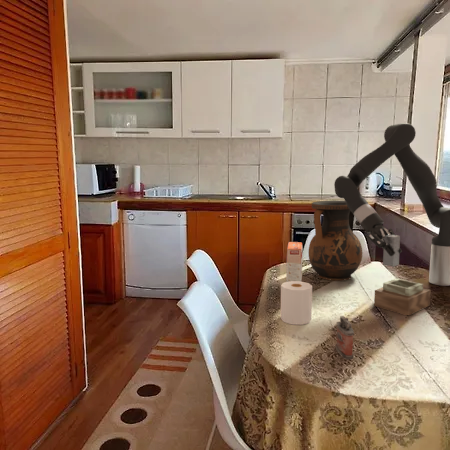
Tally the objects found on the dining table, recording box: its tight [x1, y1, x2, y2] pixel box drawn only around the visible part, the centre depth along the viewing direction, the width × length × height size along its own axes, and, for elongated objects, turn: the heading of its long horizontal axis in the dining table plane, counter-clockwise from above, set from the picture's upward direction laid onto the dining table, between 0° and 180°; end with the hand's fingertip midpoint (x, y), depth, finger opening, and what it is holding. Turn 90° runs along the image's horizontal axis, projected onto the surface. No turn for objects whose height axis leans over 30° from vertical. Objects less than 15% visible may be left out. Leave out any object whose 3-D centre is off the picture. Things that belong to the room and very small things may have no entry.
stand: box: [373, 277, 432, 316], centre depth 149 cm, size 16×13×8 cm
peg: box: [382, 234, 401, 267], centre depth 149 cm, size 4×4×11 cm
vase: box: [307, 199, 363, 282], centre depth 187 cm, size 24×24×35 cm
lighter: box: [335, 315, 355, 360], centre depth 113 cm, size 8×3×10 cm, turn 5°
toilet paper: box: [280, 281, 313, 326], centre depth 137 cm, size 10×10×12 cm
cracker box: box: [285, 241, 303, 282], centre depth 160 cm, size 14×6×21 cm, turn 168°
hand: (396, 253), depth 148 cm, fingers closed on peg, 4 cm apart
